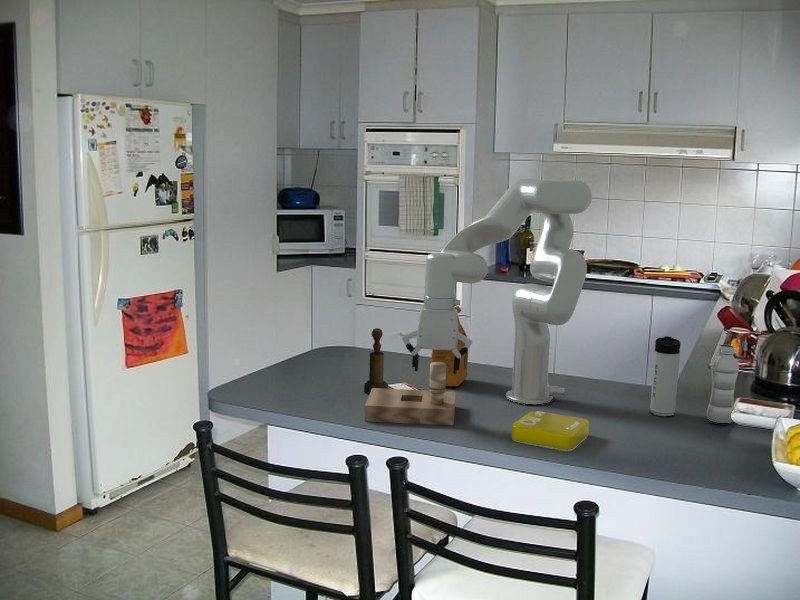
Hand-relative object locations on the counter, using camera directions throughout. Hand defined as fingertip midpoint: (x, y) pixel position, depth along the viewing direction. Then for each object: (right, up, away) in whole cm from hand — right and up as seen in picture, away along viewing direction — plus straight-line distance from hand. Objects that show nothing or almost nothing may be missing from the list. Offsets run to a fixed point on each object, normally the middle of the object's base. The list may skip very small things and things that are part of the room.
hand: (435, 371), depth 217 cm
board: (-6, -11, +6) cm, 14 cm away
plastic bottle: (+72, -14, +4) cm, 73 cm away
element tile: (+27, -16, -10) cm, 33 cm away
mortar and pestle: (-15, -8, +25) cm, 30 cm away
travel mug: (+60, -12, +11) cm, 62 cm away
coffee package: (+6, -7, +36) cm, 37 cm away
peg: (0, -8, +2) cm, 8 cm away
